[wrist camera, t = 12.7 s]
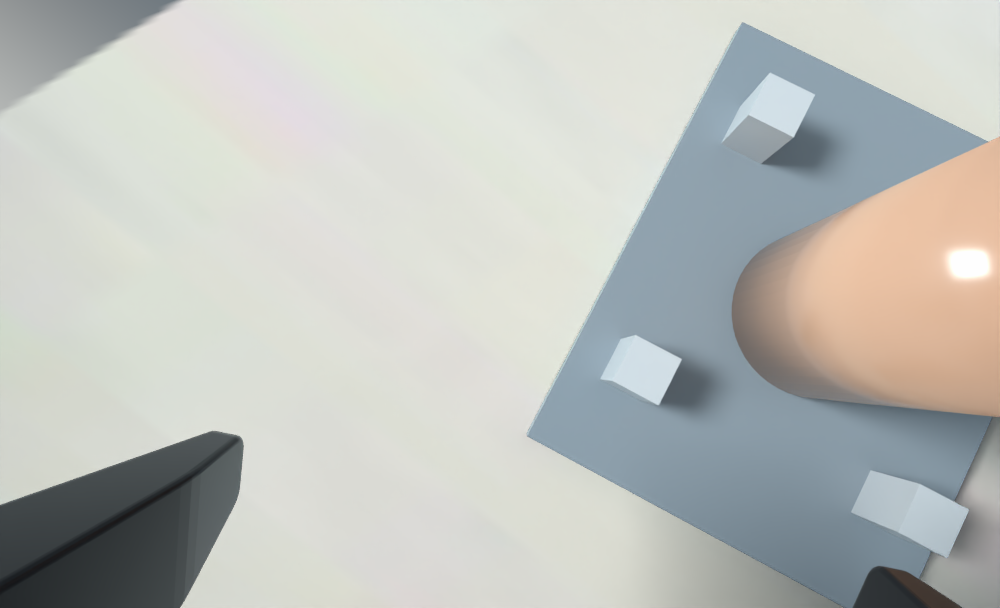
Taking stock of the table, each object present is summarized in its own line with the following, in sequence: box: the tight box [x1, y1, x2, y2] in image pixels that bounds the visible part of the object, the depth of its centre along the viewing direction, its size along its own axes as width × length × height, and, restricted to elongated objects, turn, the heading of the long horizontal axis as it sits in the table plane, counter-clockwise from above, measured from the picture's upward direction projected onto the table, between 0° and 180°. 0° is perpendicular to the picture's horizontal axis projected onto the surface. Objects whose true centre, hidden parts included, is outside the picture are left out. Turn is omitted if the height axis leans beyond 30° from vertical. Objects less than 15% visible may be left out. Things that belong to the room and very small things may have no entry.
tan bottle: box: [732, 137, 1000, 417], centre depth 14 cm, size 6×6×14 cm
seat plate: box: [527, 22, 993, 608], centre depth 20 cm, size 16×13×3 cm
